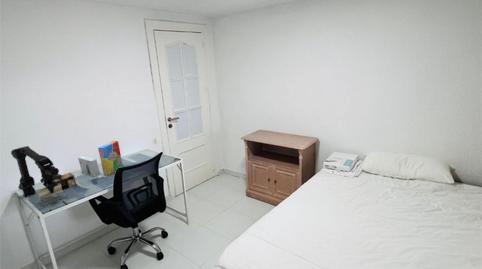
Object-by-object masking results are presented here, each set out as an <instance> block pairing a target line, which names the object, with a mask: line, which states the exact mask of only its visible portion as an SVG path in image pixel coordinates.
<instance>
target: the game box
mask: <svg viewBox="0 0 482 269" xmlns="http://www.w3.org/2000/svg"><path fill="white" fill-rule="evenodd" d="M97 149H98V154H99V158H100V163H101V169H102V173H103V176H110V175H111V174H113V173H115V172H116V171H117V170H116V169H117V168H119V167H121V168H123V166H124V165H123V160H122V156H121V150H120V145H119V141H118V140H113V141H110V142H108V143H106V144H103V145H101V146H99V147H97ZM115 170H116V171H115Z"/></svg>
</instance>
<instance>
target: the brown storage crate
mask: <svg viewBox="0 0 482 269" xmlns="http://www.w3.org/2000/svg"><path fill="white" fill-rule="evenodd" d="M61 175H62V178H61V180H55V182H56V183H57V184H58V183H60V184H61V187H64V186H66V187H68V188H69V189H70V188H73V187H75V186H77V181H76V177H75V175H74V174H73V173H72V172H68V173H65V174H61Z"/></svg>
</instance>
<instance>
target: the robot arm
mask: <svg viewBox="0 0 482 269" xmlns="http://www.w3.org/2000/svg"><path fill="white" fill-rule="evenodd" d="M10 153H11V155H12V158H14V159H15V160H16V162H17V166H18V170H19V173H20V176H21V177H20V179H19V184H18V190H20V191H22V193H23V196H24V197H25V198H26V197H29V196H32V195H33V196H34V195H35V194H36V190H35V187H34V186H35V184H36V183H35V178H34V177H33V176H31V175H30V172H29V168H28V164H27V160H26V158H27V157H29V158H30V159H31V160H33V161H34V164H35V165H36V166H37V168H38V169H39V171H40V174H41V179H40V183H41V184H42V185H43V186H44V188H45V187H46V188H47V189H48V190H49V191H50V192H51V193H54V187H55V186H58V184H57V183H56V182H55V180H61V178H62V175H63V174H60V173H59V171H60V170H59V169H58V168H57V167H56V166H55V165H54V162H53V161H52V160H51V159H50V158H49V157H48V156H45V155H44V154H43V155H41V154H40V153H37V152H36V151H34V150H33V149H31V147H30V146H29V145H27V146H23V147H22V146H21V147H17V148H14V149H12V150H11V151H10Z"/></svg>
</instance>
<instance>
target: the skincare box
mask: <svg viewBox="0 0 482 269" xmlns="http://www.w3.org/2000/svg"><path fill="white" fill-rule="evenodd" d="M77 159H78V163H79V167H80V170H81V173H83V174H85V175H89V176H92V177H97V176H99V175H101V172H100V168H99V165H98V162H97V161H98V160H97V158H93V157H89V156H87V155H86V156H85V155H81V156H78V158H77Z"/></svg>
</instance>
